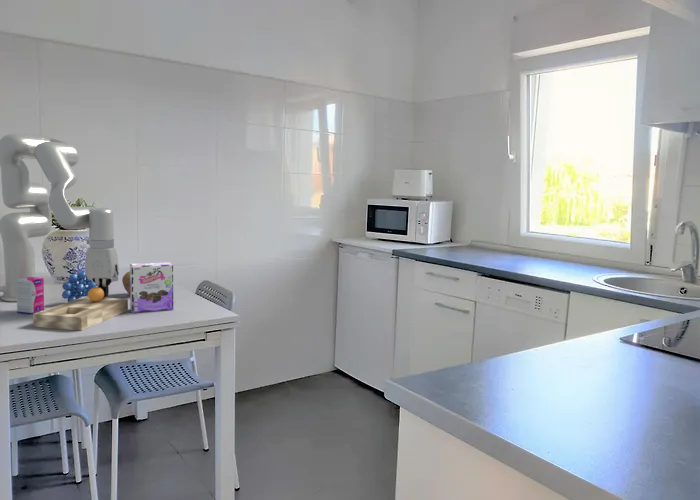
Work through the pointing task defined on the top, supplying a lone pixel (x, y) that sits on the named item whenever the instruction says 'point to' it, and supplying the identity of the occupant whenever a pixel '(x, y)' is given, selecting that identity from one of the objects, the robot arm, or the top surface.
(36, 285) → the supplement box
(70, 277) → the grapes
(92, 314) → the wooden tray with pocket
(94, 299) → the ball
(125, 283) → the natural sponge
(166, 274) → the candy box
